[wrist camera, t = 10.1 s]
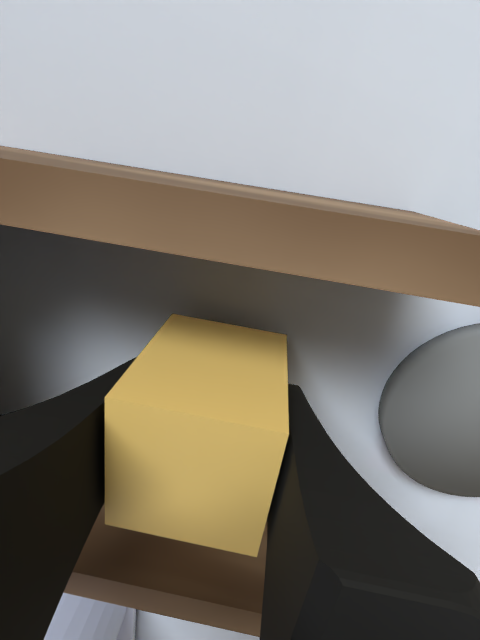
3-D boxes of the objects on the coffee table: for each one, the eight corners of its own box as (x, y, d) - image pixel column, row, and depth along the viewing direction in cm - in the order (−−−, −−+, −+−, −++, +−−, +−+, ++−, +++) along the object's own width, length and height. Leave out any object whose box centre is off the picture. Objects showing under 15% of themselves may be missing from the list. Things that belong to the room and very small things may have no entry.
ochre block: (265, 427, 13) (256, 557, 9) (164, 407, 14) (104, 524, 9) (287, 334, 12) (289, 433, 7) (172, 313, 12) (104, 396, 8)
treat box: (317, 505, 16) (331, 653, 11) (-139, 412, 17) (-310, 508, 12) (413, 211, 11) (521, 242, 6) (-245, 106, 12) (-615, 58, 7)
